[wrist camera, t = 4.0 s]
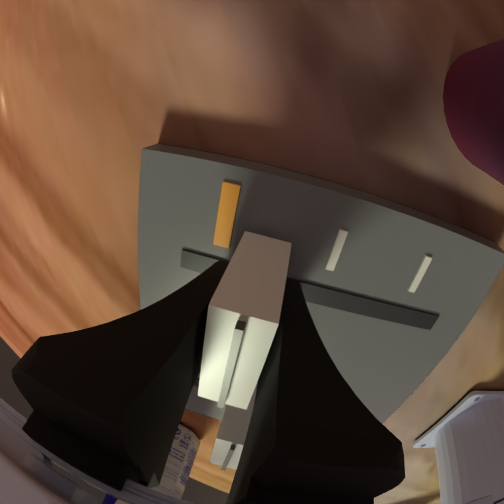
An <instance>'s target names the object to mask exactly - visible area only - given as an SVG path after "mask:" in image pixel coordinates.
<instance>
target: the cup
mask: <svg viewBox="0 0 504 504" xmlns="http://www.w3.org/2000/svg"><path fill="white" fill-rule="evenodd" d="M443 99H444V111H445V116H446V121H447V125H448V127H449V130H450V133H451V136H452V138H453V139H454V141H455V143H456V145H457V147H458V148H459V150H460V151H461V152H462V154H463V155H464V156H465V157H466V158H467V159H468V160H469V161H470V162H471V163H472V164H473V165H475V166H476V167H478V168H479V169H481V170H483V171H484V172H486V173H487V174H489V175H490V176H491V177H493V178H494V179H496V180H497V181H499V182H500V183H502V184H503V185H504V40H501V41H498V42H495V43H492V44H489V45H486V46H483V47H481V48H478V49H475V50H472V51H470V52H467V53H465V54H463V55H462V56H460V57H459V58H458V59H457V60H456V61H455V62H454V63H453V64H452V66H451V68H450V70H449V72H448V74H447V77H446V81H445V85H444V97H443Z"/></svg>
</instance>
